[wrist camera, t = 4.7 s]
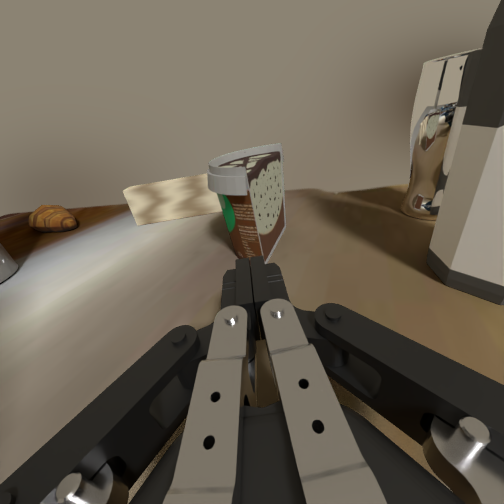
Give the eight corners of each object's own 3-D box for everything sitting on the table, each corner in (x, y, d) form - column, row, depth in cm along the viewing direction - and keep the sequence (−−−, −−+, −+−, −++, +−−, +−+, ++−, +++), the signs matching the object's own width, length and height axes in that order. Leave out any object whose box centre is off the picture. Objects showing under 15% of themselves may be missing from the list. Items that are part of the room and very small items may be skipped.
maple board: (137, 225, 40) (122, 191, 37) (142, 219, 42) (128, 186, 39) (265, 204, 39) (260, 167, 36) (263, 199, 42) (259, 164, 39)
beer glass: (395, 220, 28) (423, 60, 20) (396, 199, 33) (418, 65, 25) (473, 224, 24) (541, 34, 17) (461, 200, 29) (508, 47, 22)
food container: (247, 221, 34) (234, 148, 29) (288, 222, 32) (282, 142, 27) (205, 271, 25) (174, 174, 20) (260, 276, 22) (242, 168, 17)
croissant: (93, 222, 46) (80, 198, 44) (58, 239, 41) (41, 212, 39) (55, 220, 52) (42, 199, 49) (20, 234, 47) (3, 211, 44)
